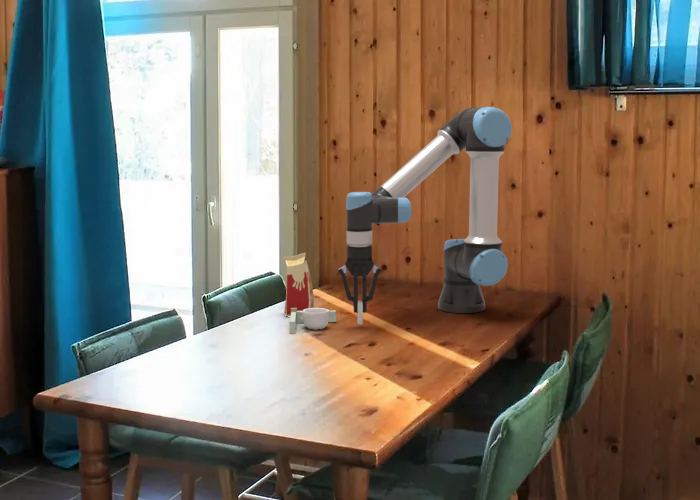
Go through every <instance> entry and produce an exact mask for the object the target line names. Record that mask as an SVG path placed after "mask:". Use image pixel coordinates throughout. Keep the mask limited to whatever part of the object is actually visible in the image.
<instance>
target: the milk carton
mask: <svg viewBox="0 0 700 500" xmlns="http://www.w3.org/2000/svg"><path fill="white" fill-rule="evenodd" d="M306 254H307V252H303V253H299V254H297V255H292V256H284V257H282V259H284V260H285V264H286V286H285V287H286V288H285V289H286V292H285V301H284V302H285V303H284V313H283V315H284V314H285V315H286V316H291V308H297V311H303V310H304V309H308V308H315V296H314V290H313V289H314V287H313V283H312V277H311V274H310V273H311V272H310V268H309V264H308V262H307V261H308V260H307V257H306V256H307V255H306ZM285 315H284V316H285ZM286 316H285V317H286Z"/></svg>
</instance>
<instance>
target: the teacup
mask: <svg viewBox="0 0 700 500" xmlns="http://www.w3.org/2000/svg"><path fill="white" fill-rule="evenodd" d="M302 313H303V318H302V317H301V314H302ZM299 316H300V318H301V319H302V320H303V321H304V323H303V324H304V326H305V327H306V328H307V329H308V330H311V329H314V330H313V331H317V330H318V329H320V330H323V329H325V328H326V326H327V325H328V324H329V323H328V319H329V308H328V309H327V308H322V307H314V308H308V309H304V310H303V311H302V312H300V315H299Z"/></svg>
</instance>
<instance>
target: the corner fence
mask: <svg viewBox="0 0 700 500" xmlns="http://www.w3.org/2000/svg"><path fill="white" fill-rule="evenodd" d="M328 310H329V309H328ZM300 312H302V311H297V308H291V316H290V317H289V334H290V333H295V334H296V329H297V324H304V321H303V320H302V319H301V318H300V316H299V315H300ZM336 313H337V310H329V319H328V322H336V323H337V317H336V315H337V314H336ZM301 317H302V318H303V313H302V314H301Z"/></svg>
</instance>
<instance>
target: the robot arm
mask: <svg viewBox="0 0 700 500" xmlns="http://www.w3.org/2000/svg"><path fill="white" fill-rule="evenodd" d="M512 130H513V128H512V121H511V119H510V117H509V115H508V114H506V112H505V111H503V110H502V109H500V108H497V107H492V106H482V107H481V106H479V107H468V108H466V109H462V110H460V112H458V113H457V114H456V115H454V116H453V117H452V118H451V119H450V120H448V121H447V122H446V123H445V124H444V125H443V126H441V128H439V129H438V130H437V135H436V137H435V138H433V139H432V140H431V141H430V142H428V144H426V146H424V147H423V148H422V149H421V150H420V151H419V152H418V153H416V154H415V155H414V156H413V157H412V158H411V159H409V161H407V162H406V164H404V165H403V166H402V167H401V168H400V169H398V170H397V171H396V172H395V173H394V174H393V175H392V176H390V177H389V178H388V179H387V180H386V181H385V182H383V184H381V185H380V186H379V187H378V188H377V189H375V191H373V192H369V191H352V192H349V193H347V195H346V199H345V200H346V203H345V204H346V205H345V210H346V211H345V212H346V213H345V215H346V244H347V246H346V261H345V265H343V266H342V267H339V268H338V274H339V275H340V276H341V279H342V283H343V286H344V291H345V293H346V297H347V301H351V302H353V313H354V314H357V319H356V320H357V325H363V324H364V321H363V320H364V319H363V318H364V314H366V313H367V311H368V310H367V309H368V308H367V303H368V301H372V300H373V299H374V294H375V290H376V286H377V281H378V277H379V276H380V273H382V268H381V267H379V266H377V265H375V262H374V261H373V245H372V244H373V225H377V224H378V225H380V224H401V223H408V222H409V221H410V220H411V217H412V212H413V211H412V203H411V202H410V199H409V198H407V197H406V196H407V195H409V194H410V193H411V192H412V191H413V190H414V189H415V188H416V187H417V186H419V185H420V184H422V182H423V181H425V179H427V178H428V177H429V176H430V175H431V174H432V173H434V171H436V170H437V169H438V168H439V167H440V166H441V165H442V164H443V163H445V161H447V160H448V159H449V158H450V157H451V156H453V155H459V153H461V152H462V151H463V150H465V153H466V154H467V155H468V156H469V158H470V169H469V170H470V173H469V175H470V176H469V213H468V214H469V216H468V217H469V221H468V229H469V230H468V236H466V237H465V238H458V239H447V240H446V241H445V242H444V246H443V287H442V290H441V293H440V296H439V299H438V301H437V302H438V304H437V309H438V310H439V311H443V312H448V313H455V314H474V313H480V312H483V311H485V309H486V302H485V299H484V294H483V292H482V288H481V286H485V287H487V286H489V287H490V286H494V285H497V283H499V282H500V281H501V280H502V279H503V278H505V276H506V273H507V272H508V267H509V264H508V258H507V256H506V255H505V254H504V252H503V251H502V248H503V247H502V246H503V245H502V244H503V242H502V240H501V239H500V238H499V237H498V213H499V212H498V207H499V206H498V205H499V175H500V174H499V171H500V170H499V169H500V157H501V156H502V155H504V153H505V144H506V143H507V141H508V140H510V138H511V135H512ZM347 270H348V272H349V273H350V274H351V276H352V279H353V280H352V283H353V287H352V288H353V289H352V290H353V295H352V294H351V290H350V286H349V283H348V282H349V281H348V277H347V273H348V272H347ZM371 271H372V273H373V275H372V279H371V283H370V288H369V292H368V295H367V276H368V275H369V274H370V272H371ZM359 277H361V293H362V294H361V298H362V299H361V300H358V299H359V297H358V296H359V289H358V286H359V285H358V281H359Z"/></svg>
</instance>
